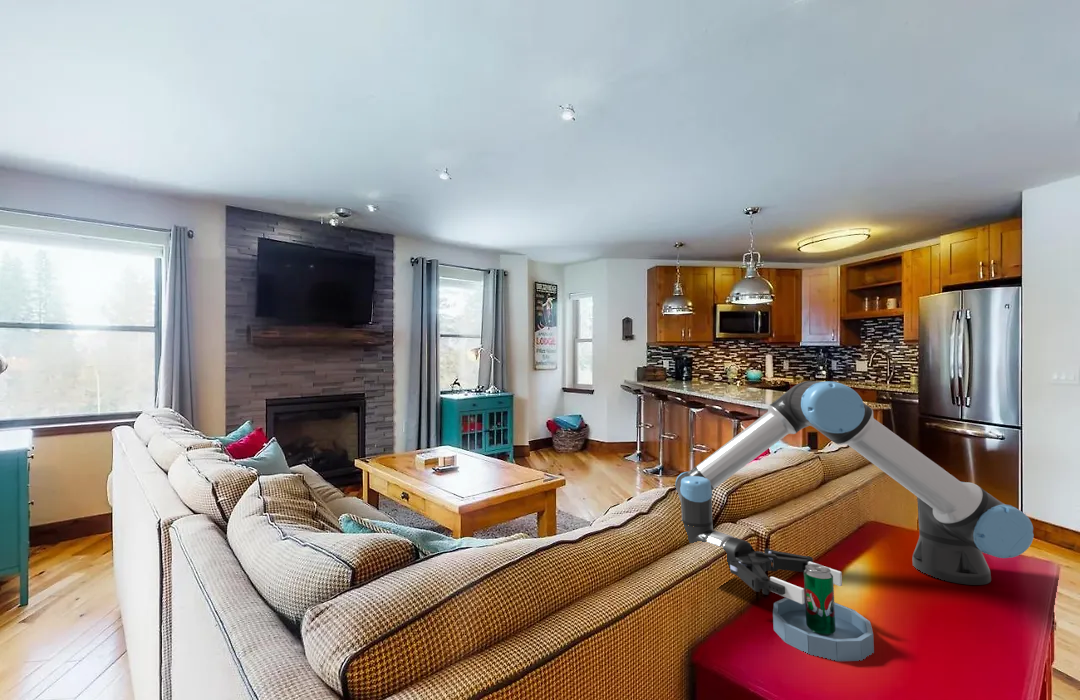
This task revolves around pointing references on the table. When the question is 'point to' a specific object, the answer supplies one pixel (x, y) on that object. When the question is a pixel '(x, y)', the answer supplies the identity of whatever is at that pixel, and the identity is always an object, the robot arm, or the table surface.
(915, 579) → the table surface
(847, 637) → the bowl
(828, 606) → the soda can
